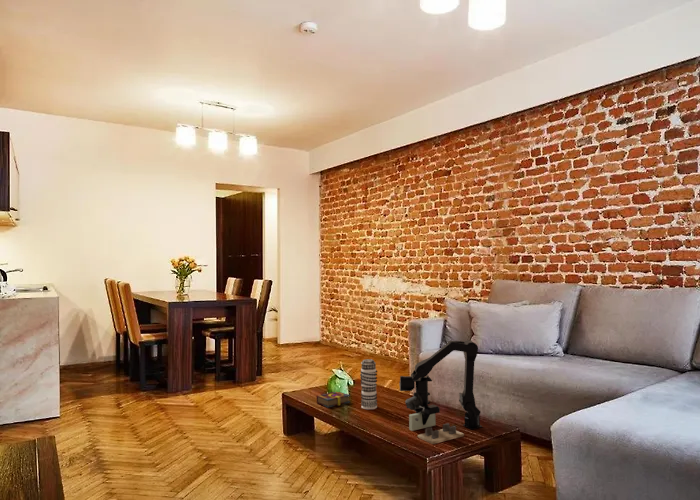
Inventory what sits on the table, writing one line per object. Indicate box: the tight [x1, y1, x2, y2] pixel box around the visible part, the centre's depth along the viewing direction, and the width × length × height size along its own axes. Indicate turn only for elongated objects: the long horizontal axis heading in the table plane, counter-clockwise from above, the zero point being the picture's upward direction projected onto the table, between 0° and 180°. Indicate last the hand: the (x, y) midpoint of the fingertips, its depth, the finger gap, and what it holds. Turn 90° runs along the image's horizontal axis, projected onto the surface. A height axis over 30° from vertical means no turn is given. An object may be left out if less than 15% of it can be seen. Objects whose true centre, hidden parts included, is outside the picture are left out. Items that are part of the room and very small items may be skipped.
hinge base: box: [417, 422, 465, 445], centre depth 223 cm, size 18×10×4 cm, turn 121°
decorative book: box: [316, 391, 351, 409], centre depth 278 cm, size 11×16×5 cm
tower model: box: [359, 358, 378, 410], centre depth 269 cm, size 9×9×25 cm
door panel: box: [408, 412, 436, 432], centre depth 235 cm, size 14×3×7 cm, turn 121°
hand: (422, 424), depth 235 cm, fingers closed on door panel, 2 cm apart
